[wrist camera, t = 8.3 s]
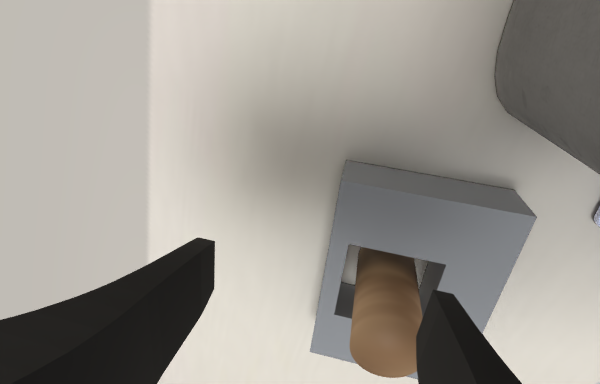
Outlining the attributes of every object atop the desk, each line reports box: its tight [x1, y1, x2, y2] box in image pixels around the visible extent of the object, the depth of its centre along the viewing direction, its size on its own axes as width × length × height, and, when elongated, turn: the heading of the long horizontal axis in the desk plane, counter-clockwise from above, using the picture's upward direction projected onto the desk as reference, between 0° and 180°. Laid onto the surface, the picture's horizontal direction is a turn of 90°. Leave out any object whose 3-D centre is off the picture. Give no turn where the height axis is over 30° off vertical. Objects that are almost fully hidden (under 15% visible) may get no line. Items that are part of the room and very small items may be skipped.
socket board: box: [310, 160, 537, 379], centre depth 21 cm, size 9×12×3 cm
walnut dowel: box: [350, 247, 423, 378], centre depth 19 cm, size 3×3×7 cm
